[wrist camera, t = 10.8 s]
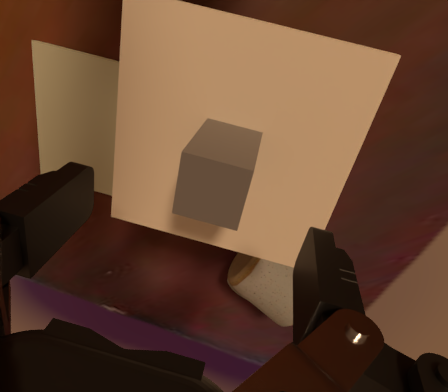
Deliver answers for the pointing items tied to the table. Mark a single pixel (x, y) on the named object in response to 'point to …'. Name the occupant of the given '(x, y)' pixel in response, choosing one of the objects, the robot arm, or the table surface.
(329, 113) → the cover board
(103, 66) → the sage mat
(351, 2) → the table surface
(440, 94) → the table surface
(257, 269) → the ceramic mug
